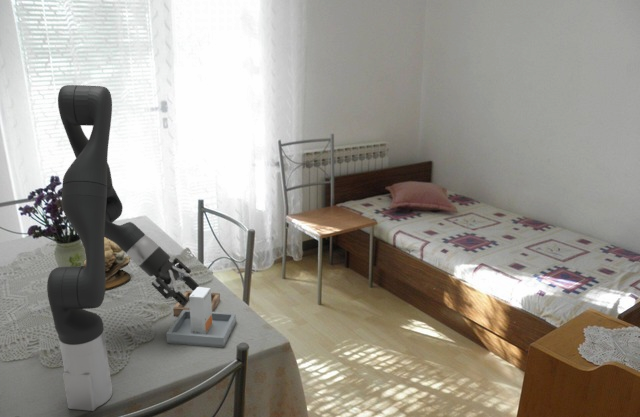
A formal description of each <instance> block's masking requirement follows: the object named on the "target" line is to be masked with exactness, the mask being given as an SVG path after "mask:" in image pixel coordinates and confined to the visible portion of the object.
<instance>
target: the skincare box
mask: <svg viewBox="0 0 640 417" xmlns="http://www.w3.org/2000/svg"><path fill="white" fill-rule="evenodd" d="M211 289H212V288H210V287H202V286H199V287H197V288H196V289H195V290H194V291H193V290H192V294H191V295H190V296H189V300H188V302H189V303H188V304H189V308H190V322H191V334H204V335H206V333H207V332H208V330H209V329H210V327H211V326H212V304H211V293H212V290H211Z"/></svg>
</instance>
